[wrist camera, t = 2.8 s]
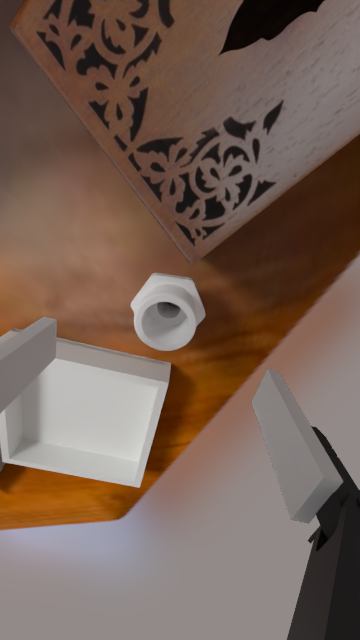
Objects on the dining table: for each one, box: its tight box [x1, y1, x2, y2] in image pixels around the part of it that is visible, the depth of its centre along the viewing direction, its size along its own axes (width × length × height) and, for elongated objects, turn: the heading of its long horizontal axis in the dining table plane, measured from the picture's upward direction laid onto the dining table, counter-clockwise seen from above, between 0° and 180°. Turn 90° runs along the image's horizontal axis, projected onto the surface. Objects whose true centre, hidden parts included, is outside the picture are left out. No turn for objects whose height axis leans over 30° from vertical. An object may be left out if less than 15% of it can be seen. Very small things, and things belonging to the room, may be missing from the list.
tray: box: [0, 328, 171, 488], centre depth 31 cm, size 20×20×4 cm
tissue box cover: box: [8, 0, 360, 266], centre depth 14 cm, size 26×14×10 cm, turn 129°
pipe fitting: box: [131, 273, 206, 351], centre depth 23 cm, size 6×7×8 cm
